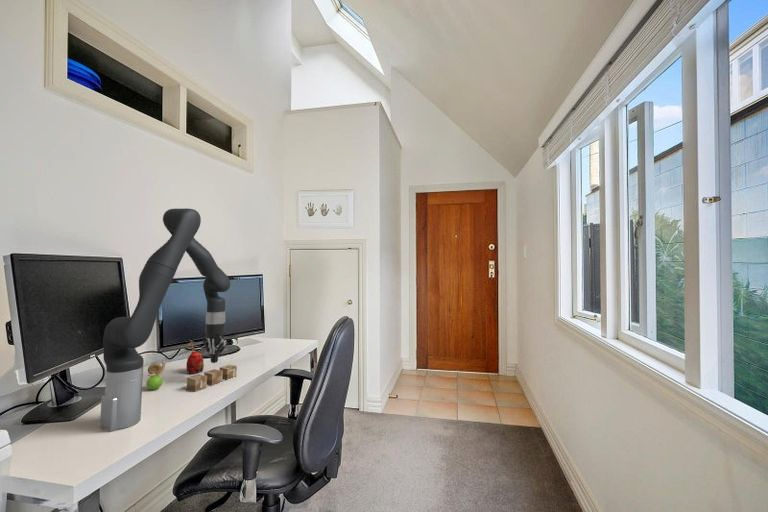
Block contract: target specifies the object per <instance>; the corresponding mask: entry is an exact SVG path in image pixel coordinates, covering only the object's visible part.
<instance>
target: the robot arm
mask: <svg viewBox="0 0 768 512" xmlns="http://www.w3.org/2000/svg"><path fill="white" fill-rule="evenodd" d="M201 219H202V218H201V214H200V213H199V211H198V210H196V209H193V208H185V207H184V208H170V209H167V210H166V211H165V212H164V213H163V215H162V223H163V225H164V227H165V228H166V229H167V231H168V232H169V234H170V235H171V236H170V237H169V239H168V240H167V241H166V242H165V243H164V244H163V245H162V246H160V247H159V248H158V249H157V250H156V251H155V252H153V253H152V254H151V255H150V256H149V257H148V258H147V260H146V262H145V264H144V267H142V268H143V269H142V270H141V272H140V274H139V278H138V291H139V293H138V295H139V296H138V302H137V304H136V306H135V309H134V310H133V312H132V314H131V315H130V317H128V316H120V317H119V316H118V317H116V318H113V319H111V320H110V321H109V322H108V324H107V325H106V326H105V329H104V332H103V337H102V338H103V339H102V340H103V341H102V342H103V344H102V345H103V346H102V349H103V353H102V354H103V355H102V356H103V361H104V364H105V367H106V369H105V373H106V374H105V391H104V394H103V395H102V396H101V397H100V401H101V402H100V417H99V418H100V420H99V428H101V429H104V430H106V431H108V432H113V431H116V430H123V429H126V428H129V427H132V426H134V425H136V424H138V423H139V422H140V421H141V417H142V399H143V379H144V378H143V377H144V376H143V375H144V362H145V360H144V357H143V356H142V355H141V354H139V353H138V351H137V348H139V347H142V345H144V344H145V343H146V342H147V340H149V337H150V336H151V334H152V331H153V328H154V326H155V322H156V319H157V316H158V314H159V310H160V308H161V306H162V304H163V300H164V298H165V297H166V294H167V292H168V289H169V287H170V286H171V283H172V282H173V279H174V277H175V275H176V273H177V270H178V267H179V266H180V263H181V261H182V259H183V257H184V255H185V253H187V255H188V256H189V257H190V259H191V260H192V262H193V263H194V265H195V267H196V269H197V270H198V272H199V274H200V275H201V276H203V277H205V279H204V280H203V285H202V286H203V292H204V296H205V300H206V315H205V331H204V332H205V333H204V334H206V338H205V339H202V343H203V344H204V347H205V350H206V352H208V353H209V354H210V363H211V364H215V363H216V364H217V363H218V362H219V354H220V353H222V352H223V351H224V349H225V348H226V346H227V345H228V341H227V340H226V341H225V340H224V339H225V338H224V333H225V332H226V299H225V298H224V297H221V296H220V295H219V293H225V292H227V291H229V289H230V287H231V280H230V278H229V276H228V275H227V273H225V272H224V270H222V269H221V268H220V267H219V266H218V264H217V262H216V261H215V258H214V257H213V256H212V253H210V251H209V250H208V249H207V248H206V247H205V246H203V244H201V243H200V242H199V241H198V240H197V239H196V238H194V237H196V236H195V235H196V234H197V233H198V232H199V229H200V226H201V223H202V220H201Z"/></svg>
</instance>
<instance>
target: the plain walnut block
mask: <svg viewBox="0 0 768 512" xmlns="http://www.w3.org/2000/svg"><path fill="white" fill-rule="evenodd" d="M203 375H205V376H207V386H210V385H211V386H210V387H213V386H216V385H219V384H221V383H220V382H222V383H223V379H222V376H223V371H222V370H219V369H216V368H214V369H211V370H208V371H204V372H203ZM218 383H219V384H218ZM215 384H216V385H215Z"/></svg>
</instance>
